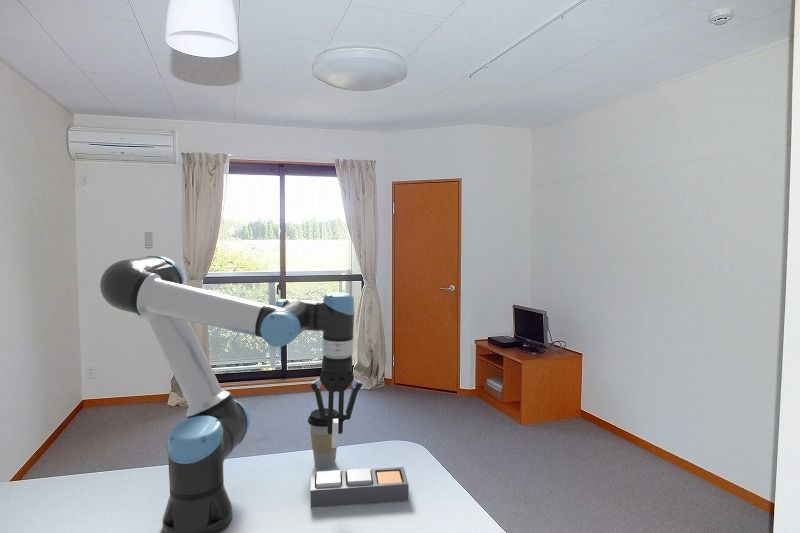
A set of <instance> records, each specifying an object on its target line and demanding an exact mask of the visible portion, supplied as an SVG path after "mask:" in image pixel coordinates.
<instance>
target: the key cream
mask: <svg viewBox="0 0 800 533" xmlns="http://www.w3.org/2000/svg"><path fill="white" fill-rule="evenodd" d="M340 471H341V469H337V470H319V471H316V472H317V480H316V488H323V487H338V486H341V479H340Z"/></svg>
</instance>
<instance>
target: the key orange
mask: <svg viewBox="0 0 800 533" xmlns="http://www.w3.org/2000/svg"><path fill="white" fill-rule="evenodd" d="M400 482H402V480H401V476H400V472H399V471H389V472H377V484H385V483H400Z"/></svg>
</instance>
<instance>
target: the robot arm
mask: <svg viewBox="0 0 800 533" xmlns="http://www.w3.org/2000/svg"><path fill="white" fill-rule="evenodd" d="M184 280H185V279H184V274H183V271H182V269H181V268H180V267H179V265H178V264H177V263H176V262H175V261H173V260H172V259H171V258H168V257H165V256H162V255H159V256H158V255H147V256H146V255H145V256H143V257H142V256H141V257H138V258H131V259H121V260H119V261H116V262H114V263H113V264H111V265H109V266H108V267H107V268H106V269H105V271H104V272H103V274H102V275H101V278H100V282H99V287H100V288H99V289H100V292H101V295H102V297H103V299H104V300H105V302H107V303H108V304H109V306H111V307H112V308H113V307H114V308H115V309H118V310H121V311H125V312H127V313H132V314H137V316H138V317H139V318H141V319H143V320H145V321H147V322H148V323H149V325H150V328H151V329H152V332H153V333H154V334H153V335H154V336H155V338H156V340H157V342H158V344H159V347H160V348H161V350H162V352H163V354H164V357H165V358H166V361H167V362H168V365H169V367H170V369H171V371H172V373H173V375H174V378H175V379H176V382H177V384H178V386H179V388H180V390H181V392H182V394H183V397H184V399H185V401H186V403H187V405H188V408H187V411H186V414H185V417H186V418H187V419H184V420H181V421H180V422H179V423H177V424H175V426H173V428H172V429H171V430H170V432H169V434H168V440H167V446H166V447H167V451H166V452H167V457H168V458H167V460H168V462H167V463H168V477H169V478H168V480H169V482H168V483H169V497H168V501H167V504H166V507H165V509H164V513H163V517H162V533H221V532H222V531H223V530H224V529H226V528H227V527H228V526H229V524H230V523H231V522H232V519H233V505H232V502H231V500H230V498H229V495H228V492H227V490H226V488H225V483H224V462H225V461H226V459H227V458H228V457H229V455H230V454H232V453H233V451H234V450H235V449H236V448H237V447H238V445H240V444H241V443H242V441H243V440H244V439H245V436H246V434H247V433H248V430H249V428H250V421H251V420H250V414H249V412H248V409H247V408H246V406H245V405H244V404H243V403H241V401H238V400H236V399H234V398H233V395H232V394H231V392H230V391H228V390H224V389H222V387H221V385H220V383H219V381H218V378H217V377H216V375H215V372H214V370H213V368H212V365H211V363H210V362H209V360H208V357H207V356H206V353H205V351H204V349H203V346H202V345H201V342H200V341H199V338H198V337H197V335H196V332H195V330H194V328H193V326H192V324H191V322H192V323H196V324H200V325H205V326H210V327H214V328H218V329H222V330H227V331H232V332H235V333H241V334H244V335H249V336H253V337H259V338H260V339H261V338H262V339H263V341H265V343H267V344H268V345H270V346H272V347H277V348H279V347H284V346H286V345H288V344H290V343H292V342H293V341H294V340H296V339H297V337H299V335H300V334H301V333H303V332H304V331H312V332H313V331H316V332H320V331H321V332H322V352H321V353H322V354H323V355H322V357H321V358H322V359H321V360H322V361H321V373H320V375H319V377H318V378H317V379H315V380H311V383H310V388H311V390H313V392H314V394H315V398H316V403H317V404H316V405H317V407H318V408H317V409H319V413H320V417H321V420H326V421H327V422H328V434H332V448H339V446H338V445H339V435H340V434H342V435H343V433H344V422H345V421H346V420H348V421H349V420H350V419H351V418H352V414H353V411H354V410H353V409H354V407H355V403H356V399H357V395H358V393H359V391H360V390H361V388H362V386H363V384H362V381H361V380H360V379H356V378H355V377H354V373H353V355H352V354H353V352H354V351H353V350H354V349H353V348H354V347H353V346H354V327H355V326H354V325H355V323H354V322H355V298H354V296H353V295H352V294H351V293H347V292H327V293H325V294H324V296H323V298H322V299H323V300H322V299H321V300H311V299H296V298H280V299H278V300H277V301H276V302H275V304H274V305H271V304H266V303H263V302H260V301H259V302H258V301H256V300H251V299H246V298H243V297H238V296H234V295H228V294H224V293H220V292H215V291H212V290H208V289H203V288H199V287H193V286H190V285H187V284H186V285H185V284H184ZM322 385H323V386H324V388H325V389H326V390H327V391H328V401H327V402H328V403H327V404H328V405H327V408H328V414H326V413H325V409H324V408H325V404H324V400H323V396H322V391H321V386H322ZM350 385H351V387H352V389H351V392H350V396H349V399H348V402H347V406H346V410H345V412H344V404H345V403H344V401H345V400H344V399H345V391H346V390H347V389H348V388H349V386H350ZM335 392H337V393H338V407H337V408H338V410H337V412H338V419H333V409H334V398H335V396H334V394H335Z"/></svg>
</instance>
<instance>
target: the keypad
mask: <svg viewBox="0 0 800 533" xmlns="http://www.w3.org/2000/svg"><path fill="white" fill-rule="evenodd" d="M347 470H348V469H347ZM347 470H340V479H341V486H338V487H323V488H316V480H317V471H316V472H314V471H313V472H311V477H310V478H311V480H310V491H309V492H310V494H309V495H310V500H309V501H310V509H313V508H314V509H315V508H326V507H342V506H355V505H357V506H358V505H370V504H383V503H385V504H386V503H399V502H409V490H410V487H409V485H410V484H409V481H408V478H407V474H406V471H405V467H404V466H395V467H381V468H380V467H379V468H370V472H371V479H372V484H369V485H354V486H348V484H347ZM389 471H399V472H400V476H401V480H402V482H400V483H385V484H377V472H389Z"/></svg>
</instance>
